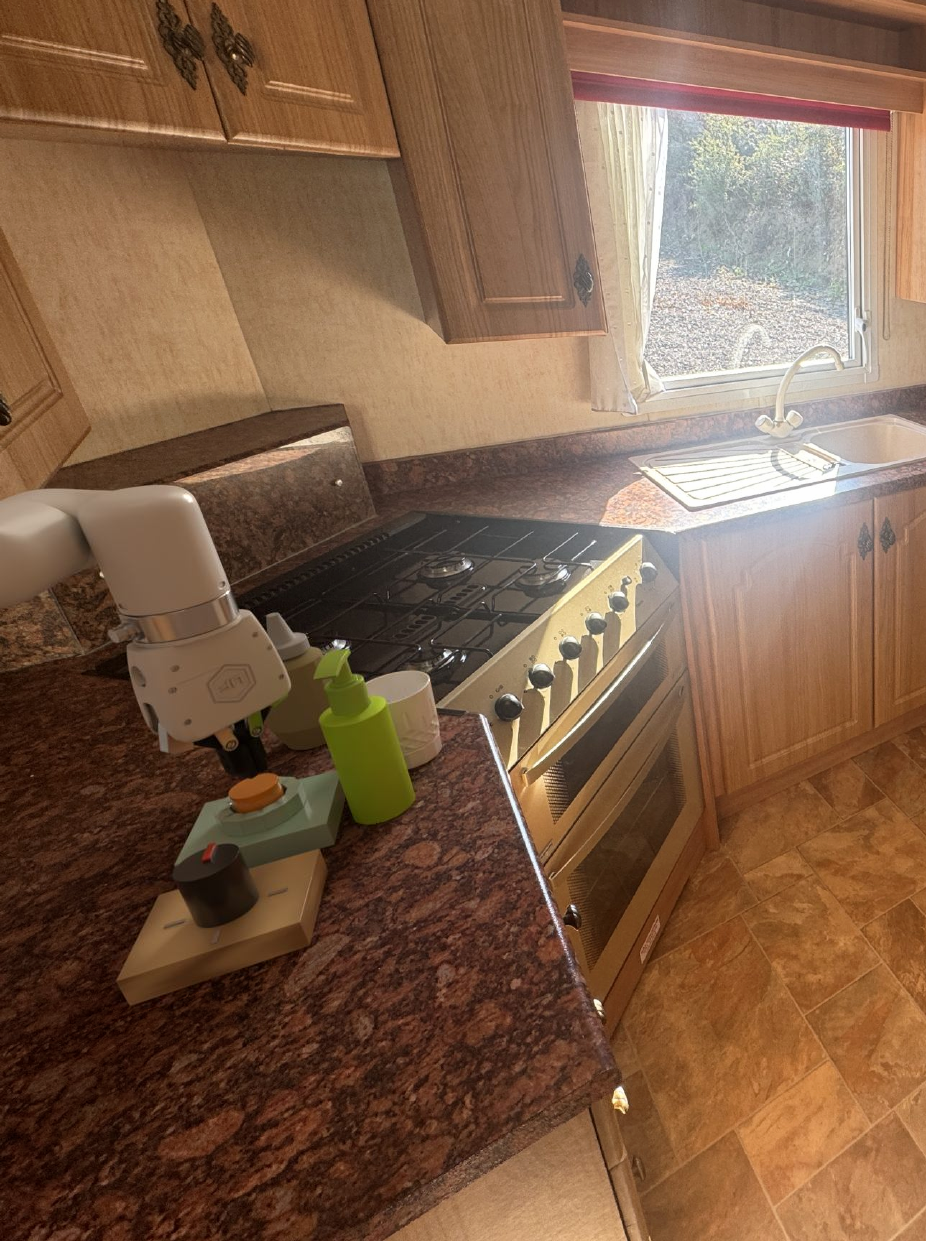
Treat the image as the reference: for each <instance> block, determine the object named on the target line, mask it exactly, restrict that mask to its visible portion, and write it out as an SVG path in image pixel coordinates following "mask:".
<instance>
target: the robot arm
mask: <svg viewBox="0 0 926 1241" xmlns="http://www.w3.org/2000/svg"><path fill="white" fill-rule="evenodd" d="M96 565H98V567H99V569H100V571H101V572H100V573H101V574H102V577H103V578H104V580H105V583H106V585H107V587H108V590H109V591H110V594H111V596H112V598H113V600H114V603H115V604H116V607H117V609H118V611H119V614H118V618H119V621H120V624H118V625H116V627H114V628H111V629H108V630H107V636H108V637H109V639H110V640H111V641H112V642H113V643H114V644H120V643H122V642H125V641H129V642H130V641H132V642H130V643H127V644H126V659H127V666H128V672H129V676H130V681H131V685H132V690H133V692H134V695H135V698H136V701H137V704H138V706H139V709H140V712H141V714H142V717H143V720H144V721H145V723H146V725H147V727H148V729H149V731H150V732H151V733H152V734H153V735H155V736H158V741H159V742H158V744H159V751H160V753H162V754H165V755H170V756H177V755H181V754H183V753H186V752H189V751H192V750H195V749H197V748H200V747H201V748H207V749H215V752H216V754H217V756H218V758H219V761H220V763H221V765H222V768H223V770H224V772H225V773H226V774H228V775H230V776H237V777H241V778H245V779H247V778H248V779H253V778H254V777H256V776H257V775H259V774H264V772H266V771H268V770H269V765H268V763H267V760H266V758H267V757H268V754H267V751H266V748H265V745H264V744H263V741H262V739H261V736H262V734H263V733H264V731H265V727H264V723H265V721H266V717H267V716H268V714H269V712H270V709H271V708H274V707H275V706H277V705H278V704H279V703H280V702H282V701H283V700H284V699H286V698H287V696H288V692H289V691H290V689H291V682H290V678H289V676H288V673H287V671H286V669H285V666H284V664H283V662H282V660H281V658H280V656H279V654H278V652H277V650H276V648H275V647H274V645H273V643H272V641H271V640H270V638H269V636H268V635H267V631H266V630H265V629H264V627H263V626H262V624H261V623H260V621H259V620H258V619H257V617H256V616H255V615H254V613H252V611H250V610H248V609H242V608H241V609H240V608H239V606H238V604H237V601H236V597H235V596H234V593H233V590H232V588H231V584H230V582H229V580H228V577H227V575H226V572H225V569H224V566H223V565H222V561H221V560H220V557H219V554H218V552H217V549H216V547H215V544H214V541H213V539H212V536H211V533H210V530H209V529H208V526H207V523H206V520H205V518H204V516H203V512H202V510H201V508H200V505H199V502H198V501H197V499H196V498H195V496H194V495H193V494H192V493H191V492H190V491H189V490H187V489H185V488H183V487H180V486H177V485H168V484H150V485H139V486H132V487H125V488H120V489H116V490H104V489H103V490H98V489H79V488H78V489H75V488H41V489H32V490H27V491H23V492H20V493H16V494H14V495H11V496H8V497H6V498H3V499H1V500H0V609H6V608H10V607H14V606H17V605H21V604H23V603H25V602H27V601H30V600H31V599H33V598H35V597H37V596H39V595H40V594H43V593H44V592H46V591H47V590H49V589H51V588H52V587H54V586H56V585H57V584H59V583H60V582H62V581H64V580H65V579H67V578H69V577H71V576H74V575H76V574H78V573H81V572H83V571H85V570H87V569H89V568H92V567H94V566H96Z"/></svg>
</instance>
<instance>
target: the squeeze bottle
mask: <svg viewBox="0 0 926 1241" xmlns="http://www.w3.org/2000/svg"><path fill="white" fill-rule="evenodd" d="M266 633H267V635H268V636H269V638H270V640H271V641H272V643H273V645H274V647H275V648H276V650H277V652H278V654H279V656H280V658H281V660H282V662H283V664H284V666H285V669H286V671H287V673H288V676H289V678H290V682H291V689H290V691H289V692H288V696H287V698H286V699H284V700H283V701H282V702H280V703H279V704H278V705H277V706H275V707H274V708H271V709H270V712H269V714H268V716H267V717H266V719H265V721H266V725H267V728H268V729H269V730H270V732H272V734H274V735H275V736H276V738H277V739H279V740H280V741H281V742H282V743H283V744H284V745H285V746H287V748H288V749H289V750H294V751H306V750H311V749H315V748H319V747H322V746H324V745H327V743H326V740H325V737H324V734H323V731H322V729H321V726H320V723H319V717H320V716H321V714H322V713H323V712H324V711H326V710H327V709H328V708H330V705H329V702H328V699H327V696H326V693H325V690H324V686H325V685H326V684H327V683H328V682H329V681H331V680H332V678H328V679H322V680H316V681H315V680H314V679H313V677H314V674H315V671H316V669H317V666H318V664H319V663H320V661H321V660H322V658H323V657H324V656H325V654H324V652H323V651H322V650H321V649H320V648H318V647H315V646H311V645H310V643H309V640H308V637H307V635H306V634H305V633H303V632H293V631H292V630H291V628H290V626H289V625H288V624H287V622H286V621H285V619H284V618H283V617H282V615H281V614H280V613H279V612H272V613H269V614H267V615H266Z"/></svg>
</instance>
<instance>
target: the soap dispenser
mask: <svg viewBox="0 0 926 1241" xmlns="http://www.w3.org/2000/svg"><path fill="white" fill-rule="evenodd" d="M351 653H352V652H351V649H350V648H348V647H347V648H343V649H342V648H341V649H336V650H330V651H327V652H326V653H325V654H324V657H323V658H322V660H321V661H320V663H319V664H318V666H317V669H316V671H315V674H314V677H313V679H314V680H315V681H316V680H322V679H328V678H332V680H331V681H329V682H328V683H327V684H326V685H325V686H324V690H325V693H326V696H327V699H328V702H329V705H330V708H328V709H327V710H326V711H324V712H323V713H322V714H321V716H320V717H319V723H320V726H321V729H322V731H323V734H324V737H325V740H326V743H327V744H326V745H327V748H328V751H329V754H330V757H331V760H332V763H333V765H334V768H335V770H336V771H337V774H338V776H339V779H340V782H341V785H342V788H343V790H344V793H345V796H346V801H347V805H348V807H349V810H350V812H351V816H352V818H353V820H354V821H355V823H358V824H360V825H377V824H380V822H381V823H384V822H388V821H390V820H393V819H395V818H397V817H399V816H400V815H402V814H403V813H405V812H406V811H407V810H408V809H410V808H411V806H412V805H413V804H414V802H415V800H416V793H415V790H414V787H413V783H412V780H411V777H410V773H409V771H408V770H409V769H408V770H407V767H406V764H405V760H404V757H403V754H402V751H401V748H400V744H399V741H398V738H397V735H396V731H395V728H394V725H393V722H392V719H391V715H390V712H389V709H388V706H387V702H386V700H385V699H384V698H383V697H380V696H375V695H369V693H368V690H367V687H366V684H365V683H366V682H365V678H364V676H362V675H361V674H357V673H352V671H351V670H352V669H351V667H350V663H349V661H348V657H349V656H350V655H351ZM376 823H377V824H376Z"/></svg>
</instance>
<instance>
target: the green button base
mask: <svg viewBox="0 0 926 1241" xmlns="http://www.w3.org/2000/svg"><path fill="white" fill-rule="evenodd" d="M278 778H279V780H280V783H281V785H282V788H283V791H284V795H283V796H282V797H281V798H280V799H279V800H278V801H276V802H275V803H273V804H271V805H269V806H267V807H264V808H262V809H260V810H256V811H253V812H249V813H237V812H236V811H235V809H234V807H233V805H232V802H231V800H230V798H229V795H228V796H226V797H224V798H223V797H222V798H219V799H215V800H212V801H207V802H204V804H203V807H202V809H201V810H200V812H199V815H198V816H197V819H196V820H195V822H194V824H193V827H192V828H191V831H190V833H189V835H188V836H187V838H186V840H185V843H184V844H183V847H182V849H181V851H180V853H179V855H178V857H177V858H176V861H175V862H174V864H173V866H174V869H175V868H176V867H177V866H178V865H179V864H180V863H181V862H182V861H183V860H185V859H186V858H188V857H189V856H191V855H192V854H194V853H196V852H198V851H200V850H203V849H205V848H207V845H208V844H212V843H216V845H219V844H227V843H229V844H235V845H237V846H238V847H239V849H240V851H241V853H242V855H243V858H244V860H245V862H246V865H247V867H248V869H250V868H254V867H257V866H261V865H264V864H268V863H271V862H274V861H278V860H281V859H285V858H288V857H292V856H295V855H299V854H302V853H306V852H309V851H313V850H316V849H320V850H321V849H324V848H328V847H332V846H335V845H336V840H337V835H338V832H339V827H340V824H341V819H342V815H343V812H344V807H345V804H344V803H346V800H345V798H346V796H345V793H344V790H343V788H342V785H341V782H340V779H339V776H338V774H337V771H336V769H335V770H331V771H327V772H323V773H320V774H315V775H311V776H307V777H303V778H300V779H299V778H298V779H297V778H296V777H295V776H278Z"/></svg>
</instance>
